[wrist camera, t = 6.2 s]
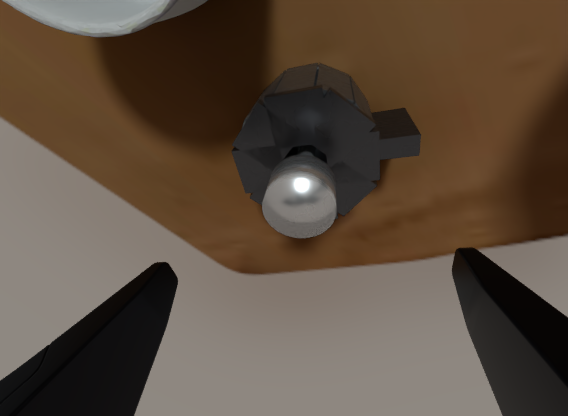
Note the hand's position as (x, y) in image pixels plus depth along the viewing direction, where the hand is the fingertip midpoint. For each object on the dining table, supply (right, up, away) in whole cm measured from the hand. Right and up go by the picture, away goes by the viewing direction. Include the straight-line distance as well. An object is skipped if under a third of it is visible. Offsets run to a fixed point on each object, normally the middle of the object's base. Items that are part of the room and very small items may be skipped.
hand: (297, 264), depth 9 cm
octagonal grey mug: (+1, +7, +10) cm, 12 cm away
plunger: (+1, +6, +9) cm, 11 cm away
